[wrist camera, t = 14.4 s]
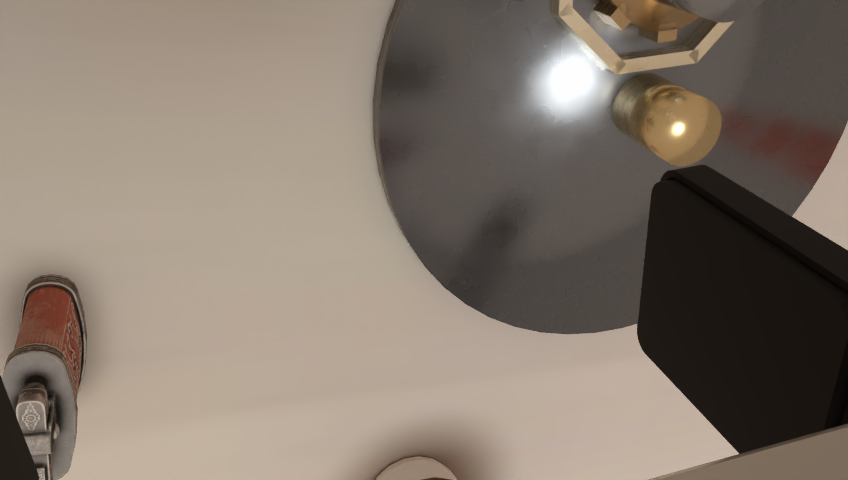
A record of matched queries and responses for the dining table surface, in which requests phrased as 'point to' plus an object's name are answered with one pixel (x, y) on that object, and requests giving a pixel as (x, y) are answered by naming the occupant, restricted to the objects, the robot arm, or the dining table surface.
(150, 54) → the dining table surface
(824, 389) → the robot arm
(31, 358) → the lighter
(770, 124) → the carrier plate
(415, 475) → the coffee cup
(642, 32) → the gear
